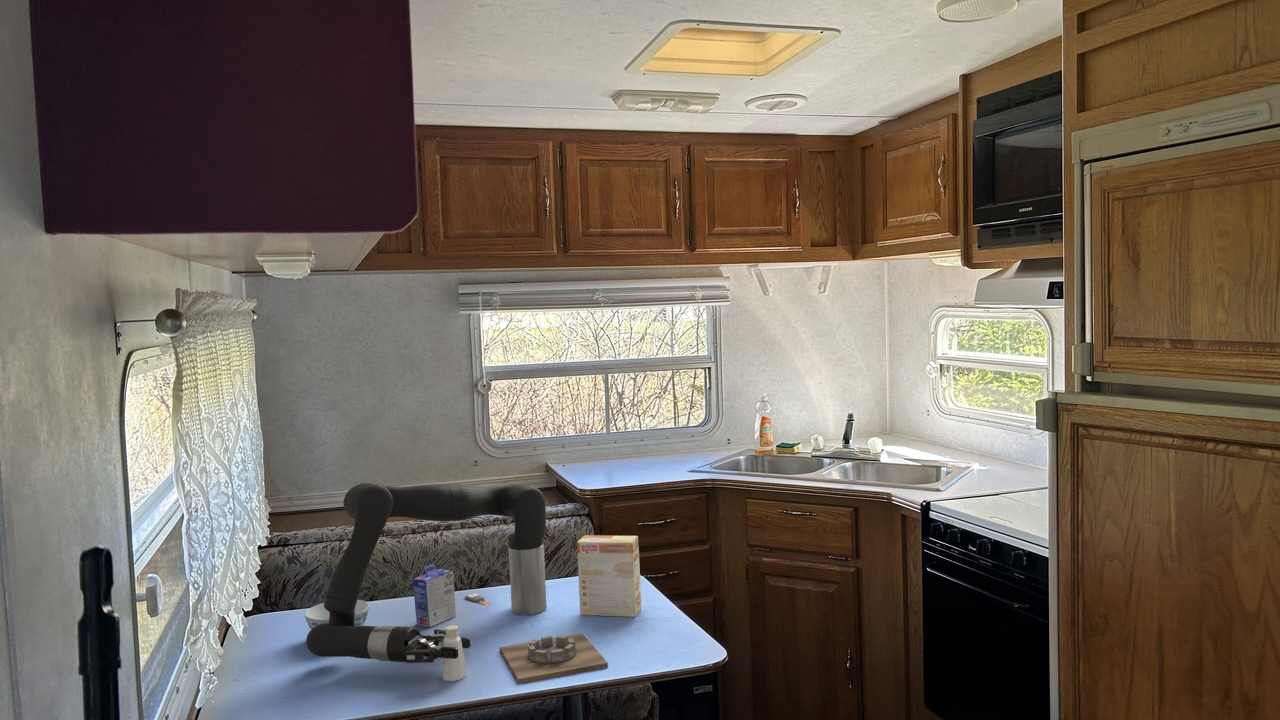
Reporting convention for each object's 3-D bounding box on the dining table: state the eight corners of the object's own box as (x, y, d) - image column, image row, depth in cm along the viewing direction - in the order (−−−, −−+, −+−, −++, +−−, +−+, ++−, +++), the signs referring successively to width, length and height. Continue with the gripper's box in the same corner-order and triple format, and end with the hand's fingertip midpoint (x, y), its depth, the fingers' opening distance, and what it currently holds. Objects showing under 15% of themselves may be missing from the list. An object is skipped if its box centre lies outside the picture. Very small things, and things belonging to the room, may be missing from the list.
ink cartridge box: (442, 613, 236) (439, 559, 235) (457, 616, 233) (454, 561, 232) (414, 624, 228) (411, 569, 227) (429, 628, 225) (426, 572, 224)
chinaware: (305, 635, 223) (303, 605, 223) (367, 625, 229) (365, 595, 229) (308, 655, 210) (306, 623, 209) (374, 643, 216) (372, 612, 215)
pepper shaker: (436, 677, 193) (433, 628, 193) (457, 669, 197) (454, 621, 197) (451, 684, 190) (448, 633, 189) (472, 675, 194) (469, 626, 193)
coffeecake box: (642, 608, 233) (638, 535, 232) (635, 617, 226) (632, 542, 225) (587, 606, 236) (584, 534, 235) (579, 615, 229) (576, 541, 228)
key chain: (463, 600, 247) (463, 595, 247) (474, 597, 250) (474, 592, 250) (489, 610, 238) (489, 605, 238) (501, 607, 240) (500, 601, 240)
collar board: (499, 651, 207) (499, 636, 207) (582, 637, 214) (581, 622, 214) (518, 683, 188) (517, 667, 188) (607, 667, 195) (607, 651, 195)
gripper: (375, 639, 190) (447, 643, 185) (409, 616, 204) (477, 619, 199) (377, 673, 190) (449, 678, 186) (411, 648, 204) (479, 652, 200)
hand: (463, 648), depth 193 cm, fingers open, 5 cm apart
